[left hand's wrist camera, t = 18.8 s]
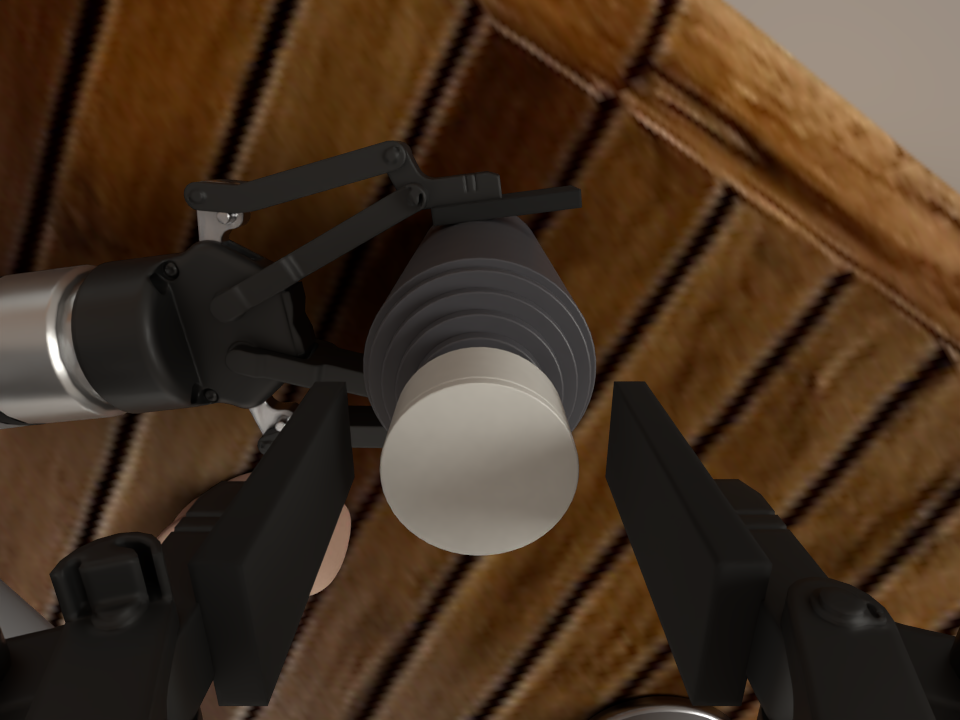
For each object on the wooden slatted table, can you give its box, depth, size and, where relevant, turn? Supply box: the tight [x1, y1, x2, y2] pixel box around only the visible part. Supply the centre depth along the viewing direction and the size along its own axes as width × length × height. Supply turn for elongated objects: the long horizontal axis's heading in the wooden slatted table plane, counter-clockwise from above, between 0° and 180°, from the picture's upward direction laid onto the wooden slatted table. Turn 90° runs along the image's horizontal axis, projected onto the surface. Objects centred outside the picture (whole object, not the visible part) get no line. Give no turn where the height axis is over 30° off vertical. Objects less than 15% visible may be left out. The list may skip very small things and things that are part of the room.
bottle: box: [363, 216, 596, 432], centre depth 23 cm, size 7×7×22 cm
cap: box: [380, 347, 579, 555], centre depth 14 cm, size 4×4×2 cm
